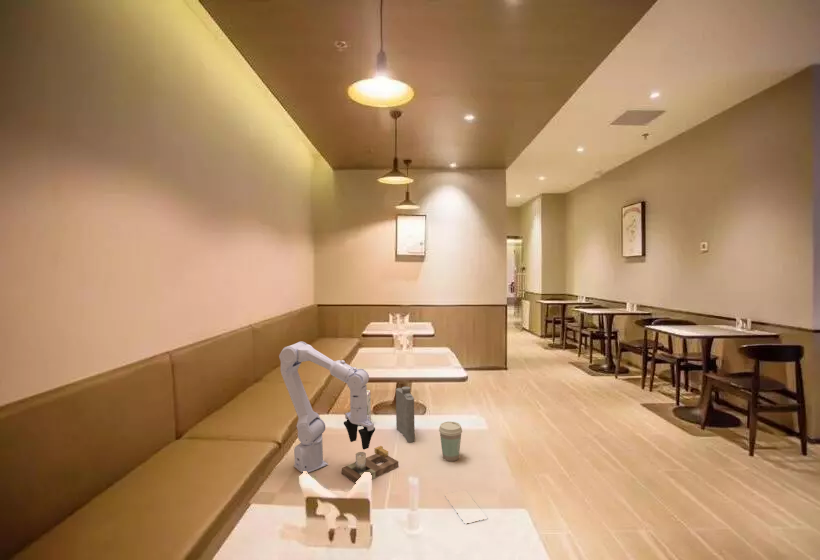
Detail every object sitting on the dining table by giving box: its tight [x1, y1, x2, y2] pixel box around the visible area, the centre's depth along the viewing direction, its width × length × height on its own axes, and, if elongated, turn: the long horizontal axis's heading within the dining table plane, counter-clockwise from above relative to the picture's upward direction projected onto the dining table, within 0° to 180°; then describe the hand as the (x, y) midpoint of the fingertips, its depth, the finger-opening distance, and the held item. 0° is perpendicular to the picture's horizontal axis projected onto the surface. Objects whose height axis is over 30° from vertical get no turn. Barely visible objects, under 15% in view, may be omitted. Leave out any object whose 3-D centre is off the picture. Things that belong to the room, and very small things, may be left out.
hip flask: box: [395, 386, 416, 444], centre depth 169 cm, size 16×4×20 cm, turn 21°
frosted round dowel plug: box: [355, 451, 367, 474], centre depth 138 cm, size 3×3×7 cm
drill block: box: [341, 453, 399, 484], centre depth 141 cm, size 17×10×2 cm, turn 132°
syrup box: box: [367, 389, 372, 422], centre depth 181 cm, size 6×6×14 cm
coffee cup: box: [438, 421, 463, 462], centre depth 149 cm, size 8×8×12 cm
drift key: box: [374, 445, 389, 457], centre depth 148 cm, size 3×5×2 cm, turn 42°
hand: (359, 444), depth 140 cm, fingers open, 7 cm apart
